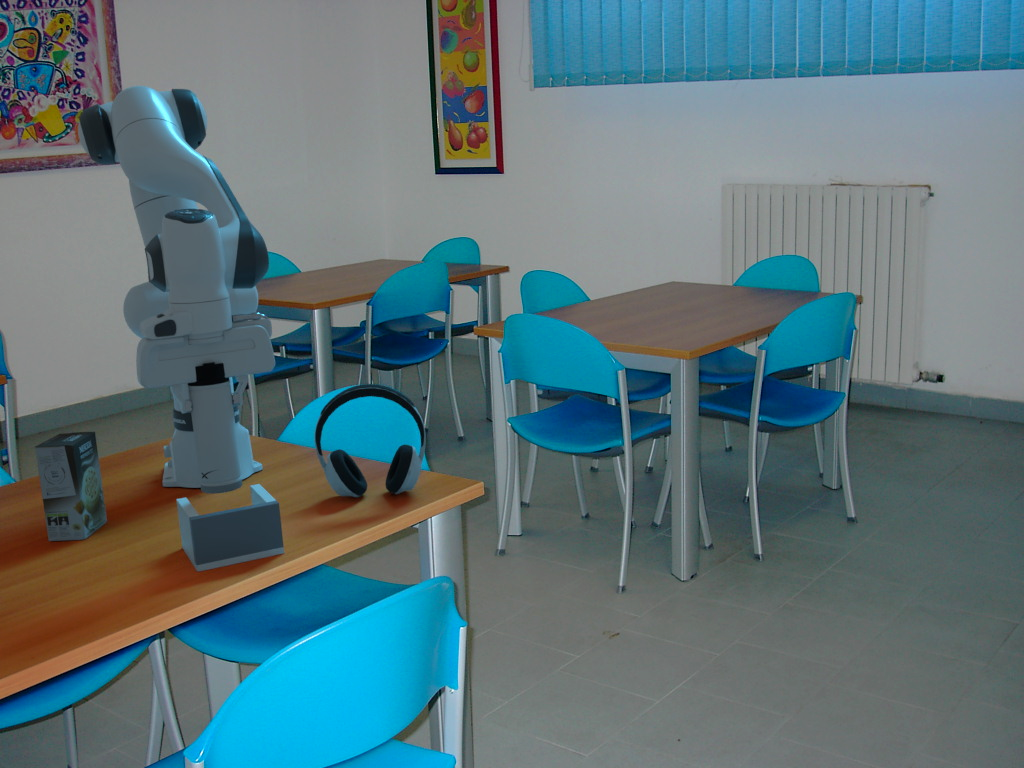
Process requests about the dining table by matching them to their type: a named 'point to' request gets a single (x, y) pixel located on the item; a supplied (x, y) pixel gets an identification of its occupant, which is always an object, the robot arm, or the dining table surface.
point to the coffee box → (71, 486)
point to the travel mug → (215, 430)
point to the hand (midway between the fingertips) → (212, 408)
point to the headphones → (342, 466)
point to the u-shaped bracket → (231, 532)
